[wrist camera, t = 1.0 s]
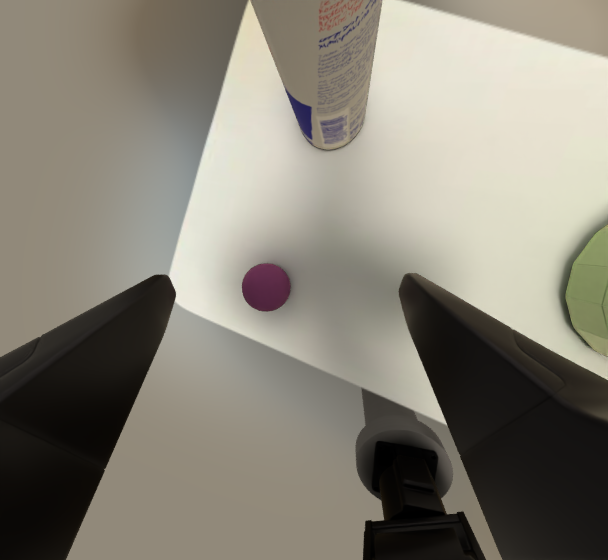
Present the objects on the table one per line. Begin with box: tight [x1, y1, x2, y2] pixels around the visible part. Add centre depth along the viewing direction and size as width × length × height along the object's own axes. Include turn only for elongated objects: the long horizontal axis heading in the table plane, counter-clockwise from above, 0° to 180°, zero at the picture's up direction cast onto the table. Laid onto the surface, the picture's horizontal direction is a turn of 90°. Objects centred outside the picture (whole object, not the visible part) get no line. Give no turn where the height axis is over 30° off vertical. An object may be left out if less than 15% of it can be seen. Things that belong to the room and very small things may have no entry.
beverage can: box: [250, 0, 382, 149], centre depth 12 cm, size 6×6×15 cm
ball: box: [242, 263, 291, 311], centre depth 21 cm, size 4×4×4 cm
